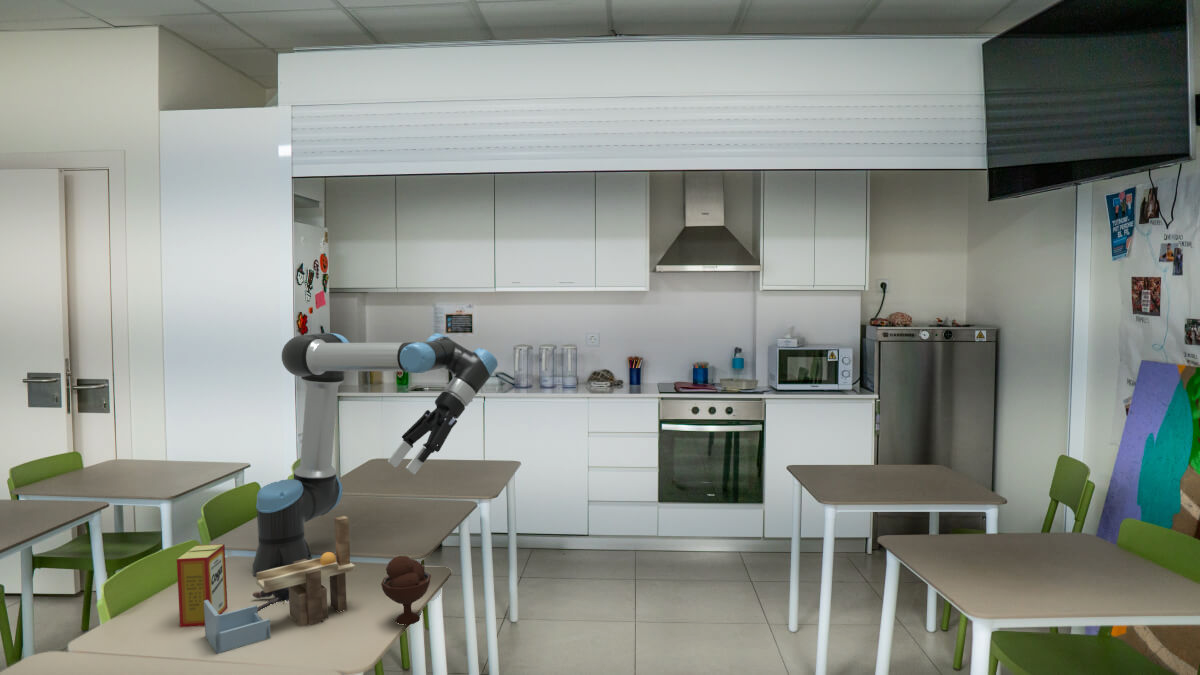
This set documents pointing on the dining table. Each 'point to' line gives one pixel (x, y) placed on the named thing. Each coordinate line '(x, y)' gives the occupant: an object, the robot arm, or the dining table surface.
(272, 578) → the lever
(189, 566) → the baking soda box
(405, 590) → the ice cream bowl
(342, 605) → the stand
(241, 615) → the bin
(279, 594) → the stuffed animal
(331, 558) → the ball
